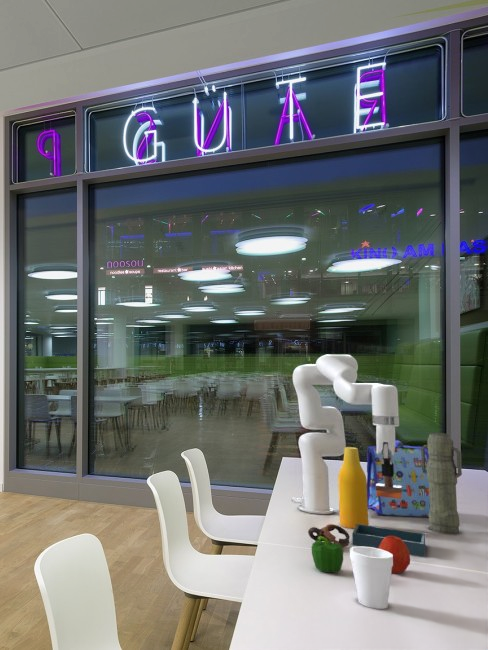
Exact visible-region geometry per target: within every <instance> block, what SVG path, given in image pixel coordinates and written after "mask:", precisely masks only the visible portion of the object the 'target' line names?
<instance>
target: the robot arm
mask: <svg viewBox="0 0 488 650" xmlns="http://www.w3.org/2000/svg"><path fill="white" fill-rule="evenodd" d="M358 370H359V364H358V360H357V359H356V358H355V357H353V356H352V355H351V354H324V355H321V356H320V357H318V358H317V360H316V362H315V364H314V363H313V364H312V363H309V364H307V363H306V364H301V365H298V366H297V367H295V368H294V370H293V373H292V384H293V387H294V390H295V392H296V396H297V404H298V412H299V421H300V424H301V426H302V428H304V429H306V430H326V432H306V433H304V434H301V435H300V436H299V438H298V448H299V451H300V452H299V453H300V457H301V459H300V460H301V471H302V472H301V473H302V475H301V477H302V478H301V479H302V497H299V498H298V497H294V496H293V497H291V502H292V503H293V504H299V506H298V507H299V508H298V509H299V510H300V511H302V512H305V513H309V514H315V515H331V514H334V513H335V509H334V507H331V505H330V479H329V477H330V476H329V467H328V465H327V463H326V462H325V459H323V457H340V456H342V455H343V456H344V450H345V447H347V444H346V433H345V425H344V418H343V415H342V413H341V412H340V409H338V408H336V407H334V406H328V405H327V406H323V405H322V398H321V395H320V392H319V391H318V389H316V387H314V386H332V387H333V390H334V393H335V395H336V396H337V397H338V398H340V399H341V400H342V401H344V402H345V403H348V404H350V405H355V406H356V405H368V406H371V413H372V415H371V416H372V425H373V426H376V427H375V430H376V431H375V439H376V440H375V443H376V445H375V446H377V454H378V455H379V454H380V453H381V452H382V476H388V477H393V475H394V463H393V457H392V456H393V455H394V453H395V442H396V427H400V417H399V394H398V393H399V392H398V388H397V386H395V385H392V384H382V383H376V382H375V383H370V382H369V383H367V382H364V383H363V382H362V383H361V382H359V383H356V381H357V379H358Z"/></svg>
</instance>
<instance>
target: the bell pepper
mask: <svg viewBox="0 0 488 650" xmlns="http://www.w3.org/2000/svg"><path fill="white" fill-rule="evenodd" d="M317 538H318V539H319V540H317V541H314V542H313V543H312V545H311V554H312V555H311V556H312V559H313V563H314V566H315V568H316V570H318V571H319V572H323V573H335V574H337V573H340V571H341V569H342V567H343V562H344V548H342V547H341V545H339V544H334V543H333V542H330V541H327V539H326V538H325V537H322V536H319V537H317ZM321 539H323V540H324V541H320V540H321Z"/></svg>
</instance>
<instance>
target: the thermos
mask: <svg viewBox="0 0 488 650" xmlns="http://www.w3.org/2000/svg"><path fill="white" fill-rule="evenodd" d="M421 447H422V448H421V454H422V470H423V473H426V474H427V480H428V482H429V494H430V510H429V517H428V522H429V530H430V531H433V532H437V533H441V534H448V535H458V534H460V526H461V523H460V515H459V512H458V502H457V484H458V478H460V477H461V476H462V475H463V472H462V451H461V450H460V449H459V448H458V447H455V446H454V441H453V439H452V436H451V434H448V433H445V432H444V433H443V432H432V433H429V436H428V438H427V444H424V445H422V446H421ZM425 448H426V449H427V450H428V454H429V458H428V463H427V470H426V471H425ZM455 453H456V464H455V459H454V456H455Z"/></svg>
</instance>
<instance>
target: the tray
mask: <svg viewBox="0 0 488 650" xmlns="http://www.w3.org/2000/svg"><path fill="white" fill-rule="evenodd" d="M393 535H394V536H396V537H398V538H400V539H401V540H403V542H404V543H405V544H406V546H407V548H408V550H409V553H410V556H416V557H421V558H425V556H426V547H427V546H426V545H427V544H426V533H421V532H414V531H409V530H402V529H394V528H387V527H380V526H374V525H361V524H357V525H356V527H355V529H353V531H352V546H355V547H358V546H364V547H373V548H377V549H378V548H379V546H380V544H381V542H382V540H383V539H384V538H385V537H387V536H393Z"/></svg>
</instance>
